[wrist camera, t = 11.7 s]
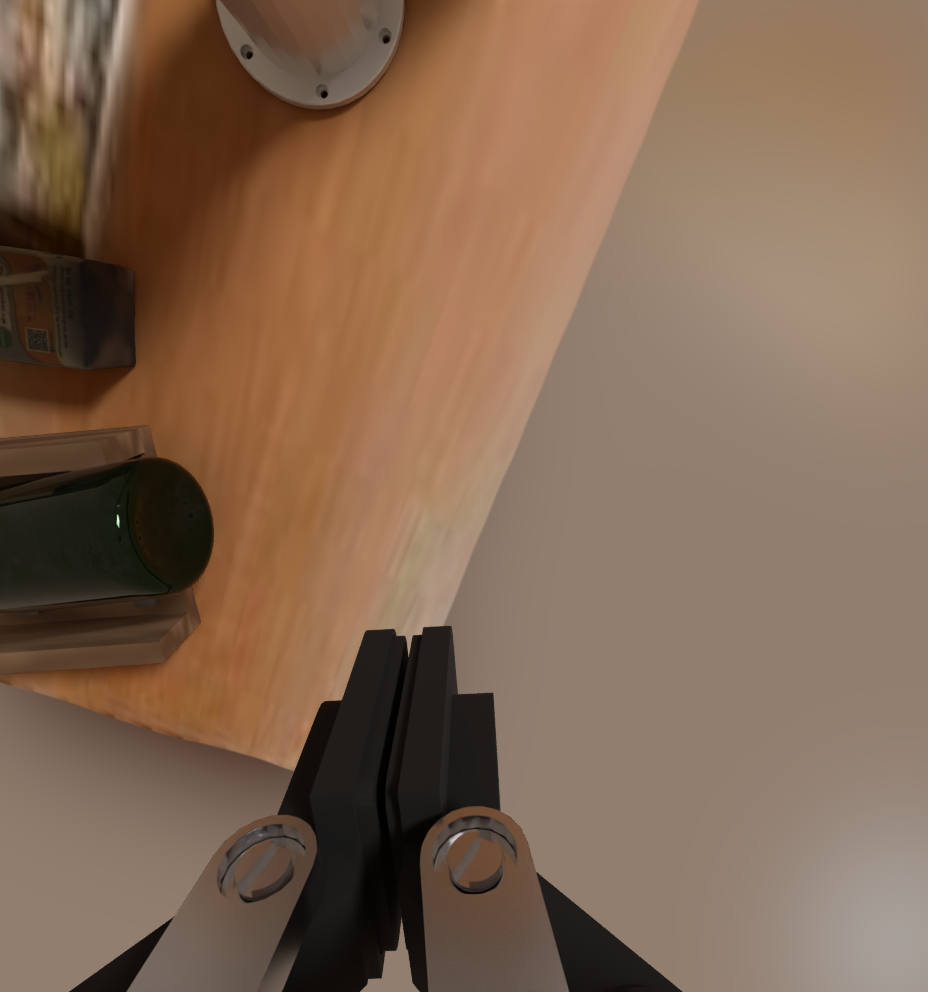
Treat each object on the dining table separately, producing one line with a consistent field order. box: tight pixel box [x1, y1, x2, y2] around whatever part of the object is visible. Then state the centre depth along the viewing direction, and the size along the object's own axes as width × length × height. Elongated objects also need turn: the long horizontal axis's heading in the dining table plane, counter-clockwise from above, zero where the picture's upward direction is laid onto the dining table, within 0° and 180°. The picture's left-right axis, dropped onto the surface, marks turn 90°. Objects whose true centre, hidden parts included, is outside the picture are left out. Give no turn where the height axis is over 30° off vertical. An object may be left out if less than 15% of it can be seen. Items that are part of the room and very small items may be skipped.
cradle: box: [0, 425, 201, 674], centre depth 47 cm, size 19×18×6 cm
